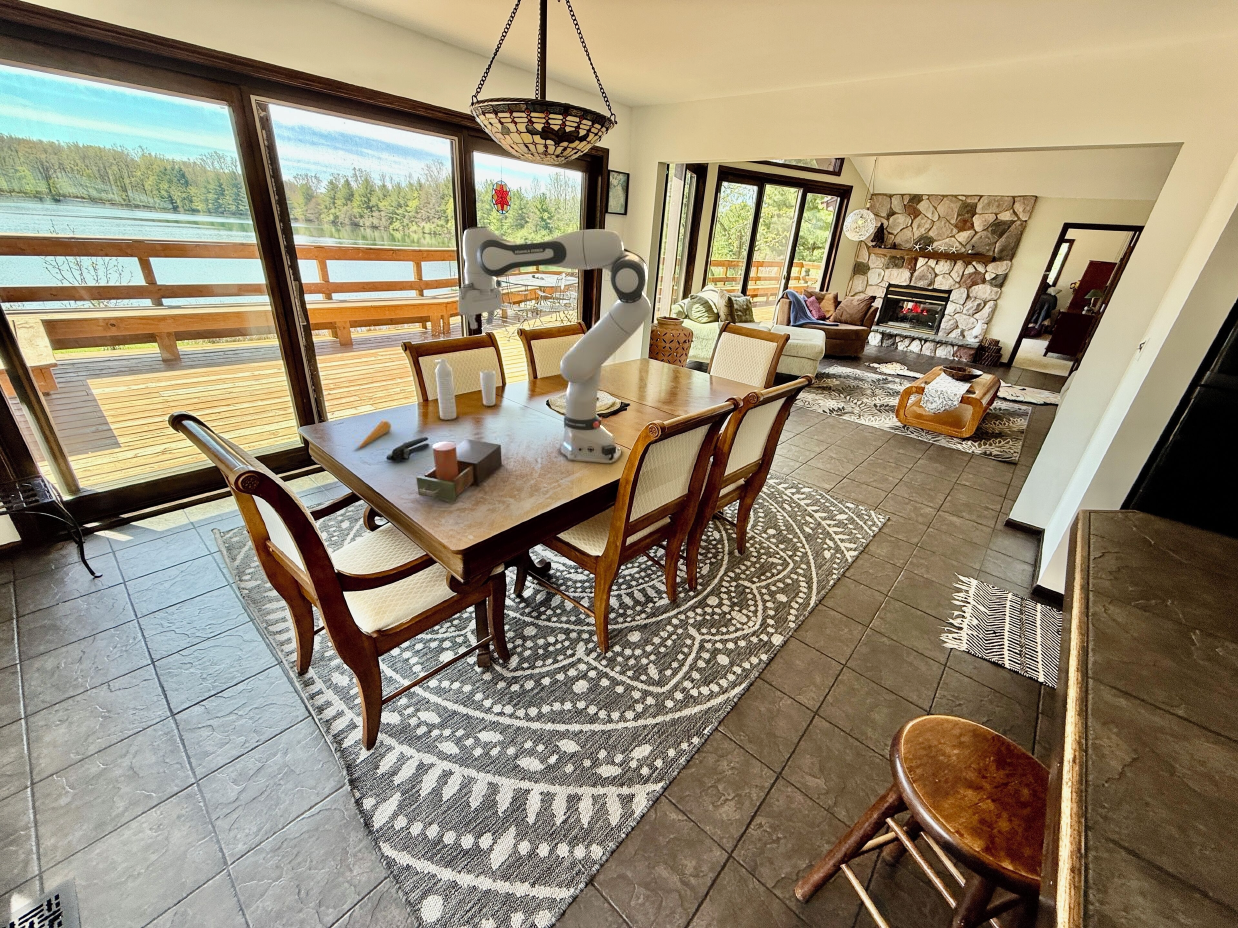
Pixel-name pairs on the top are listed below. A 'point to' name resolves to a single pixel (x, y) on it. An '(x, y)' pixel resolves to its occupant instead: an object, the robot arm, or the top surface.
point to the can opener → (407, 450)
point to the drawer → (446, 483)
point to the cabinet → (480, 458)
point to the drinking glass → (488, 387)
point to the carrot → (377, 432)
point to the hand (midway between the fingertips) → (482, 326)
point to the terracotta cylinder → (445, 461)
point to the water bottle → (445, 390)
